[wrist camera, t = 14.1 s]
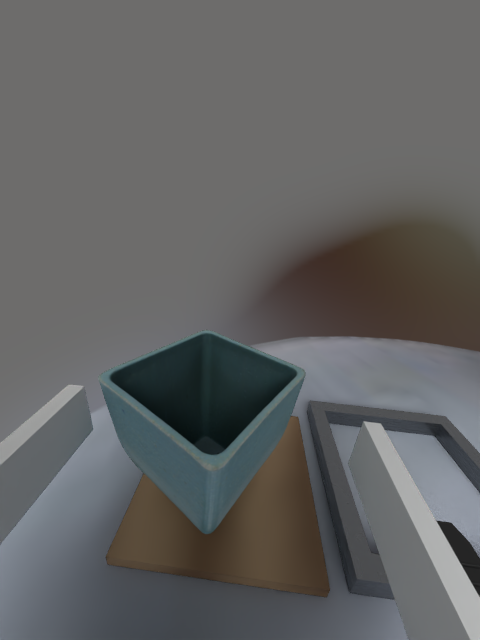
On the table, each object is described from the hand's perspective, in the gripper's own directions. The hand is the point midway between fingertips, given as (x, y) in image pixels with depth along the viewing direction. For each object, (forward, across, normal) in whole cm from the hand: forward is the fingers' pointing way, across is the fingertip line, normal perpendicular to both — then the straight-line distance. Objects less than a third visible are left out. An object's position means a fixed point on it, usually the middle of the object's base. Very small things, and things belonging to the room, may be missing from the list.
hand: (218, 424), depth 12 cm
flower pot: (+3, -1, -8) cm, 9 cm away
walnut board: (+4, 0, -9) cm, 10 cm away
